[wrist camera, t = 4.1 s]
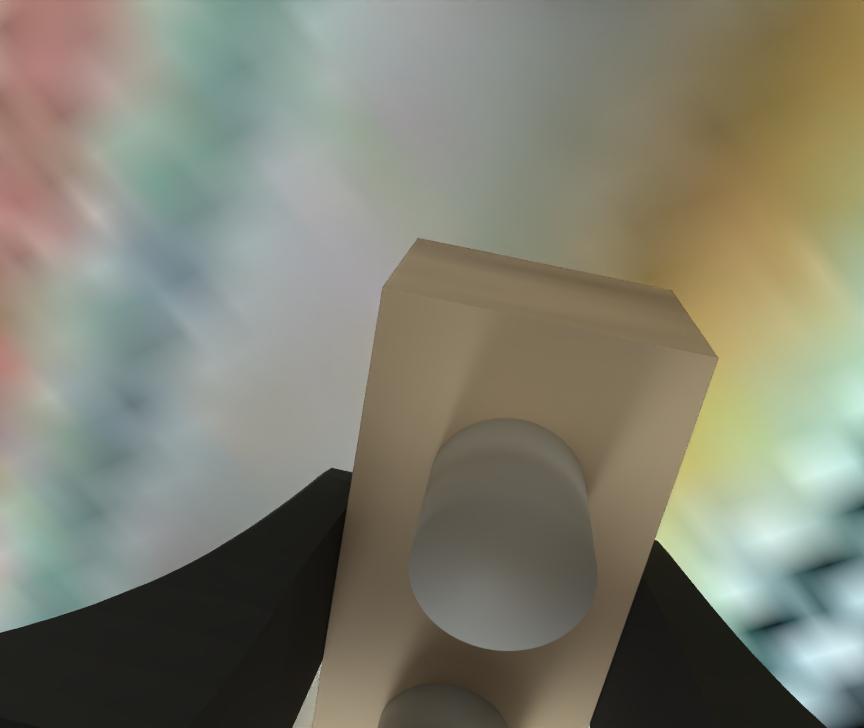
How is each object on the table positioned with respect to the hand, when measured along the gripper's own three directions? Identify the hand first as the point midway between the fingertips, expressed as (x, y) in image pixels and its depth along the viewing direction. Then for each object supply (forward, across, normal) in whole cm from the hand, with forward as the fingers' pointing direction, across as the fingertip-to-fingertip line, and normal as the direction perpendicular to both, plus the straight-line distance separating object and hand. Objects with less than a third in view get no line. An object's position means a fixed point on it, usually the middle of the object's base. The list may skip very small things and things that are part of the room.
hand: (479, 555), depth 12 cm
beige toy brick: (+1, 0, 0) cm, 1 cm away
